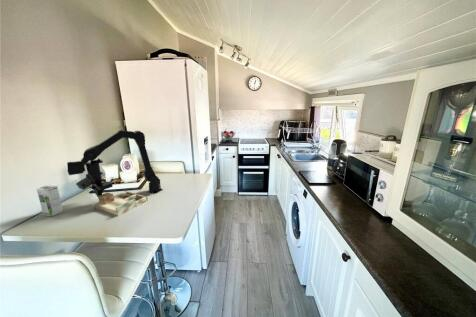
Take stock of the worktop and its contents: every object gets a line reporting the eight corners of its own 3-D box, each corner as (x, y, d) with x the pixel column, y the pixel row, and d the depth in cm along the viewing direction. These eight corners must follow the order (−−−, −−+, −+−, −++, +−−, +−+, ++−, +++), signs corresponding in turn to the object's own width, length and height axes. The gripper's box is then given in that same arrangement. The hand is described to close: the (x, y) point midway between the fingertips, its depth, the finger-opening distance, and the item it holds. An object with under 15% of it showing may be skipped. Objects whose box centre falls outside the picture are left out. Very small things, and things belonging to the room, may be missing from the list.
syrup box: (42, 215, 96) (35, 188, 92) (56, 209, 102) (49, 184, 98) (51, 216, 95) (43, 190, 91) (64, 210, 100) (57, 185, 97)
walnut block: (108, 198, 108) (107, 192, 107) (114, 200, 106) (113, 193, 105) (99, 202, 104) (98, 195, 103) (105, 204, 102) (103, 197, 101)
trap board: (126, 194, 119) (125, 188, 118) (148, 200, 111) (147, 193, 110) (95, 208, 103) (93, 200, 102) (118, 216, 95) (116, 207, 94)
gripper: (66, 173, 100) (73, 200, 104) (87, 178, 93) (94, 207, 97) (90, 167, 110) (95, 192, 114) (110, 172, 102) (115, 198, 106)
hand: (99, 197), depth 107 cm, fingers closed
